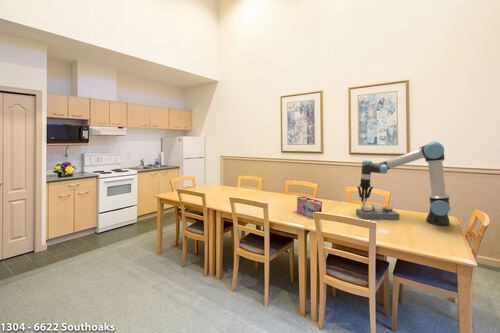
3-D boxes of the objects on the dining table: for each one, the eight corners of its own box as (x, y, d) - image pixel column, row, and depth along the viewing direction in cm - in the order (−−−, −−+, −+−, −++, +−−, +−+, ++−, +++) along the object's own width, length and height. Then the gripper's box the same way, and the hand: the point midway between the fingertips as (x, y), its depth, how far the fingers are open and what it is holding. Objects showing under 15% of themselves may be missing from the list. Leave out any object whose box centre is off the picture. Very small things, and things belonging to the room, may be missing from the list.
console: (390, 214, 226) (391, 205, 225) (399, 219, 213) (399, 210, 212) (355, 214, 227) (356, 205, 226) (362, 219, 213) (362, 210, 212)
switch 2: (377, 205, 224) (377, 203, 223) (381, 212, 216) (382, 210, 215) (371, 205, 225) (371, 203, 224) (375, 212, 217) (376, 210, 216)
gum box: (323, 217, 219) (323, 202, 217) (316, 219, 214) (317, 203, 213) (302, 210, 239) (303, 196, 237) (296, 212, 234) (296, 197, 233)
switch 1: (366, 208, 225) (366, 205, 225) (371, 210, 216) (371, 207, 216) (360, 207, 225) (361, 205, 225) (365, 210, 216) (365, 207, 216)
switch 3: (387, 209, 224) (387, 207, 224) (393, 209, 215) (392, 206, 216) (382, 209, 224) (381, 207, 224) (387, 208, 215) (386, 206, 216)
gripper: (371, 177, 225) (369, 204, 228) (356, 177, 225) (354, 203, 229) (375, 179, 217) (373, 206, 221) (359, 179, 218) (357, 206, 221)
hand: (363, 205), depth 225 cm, fingers closed
